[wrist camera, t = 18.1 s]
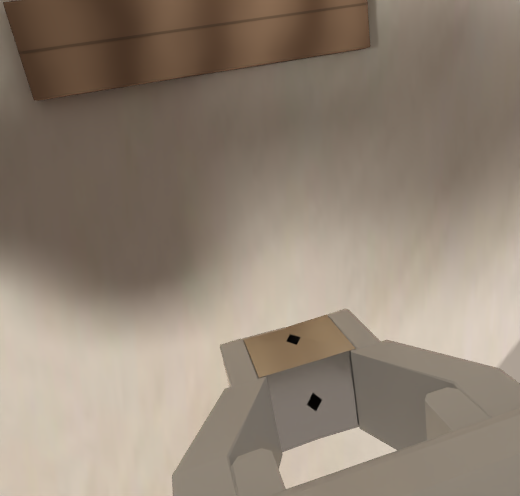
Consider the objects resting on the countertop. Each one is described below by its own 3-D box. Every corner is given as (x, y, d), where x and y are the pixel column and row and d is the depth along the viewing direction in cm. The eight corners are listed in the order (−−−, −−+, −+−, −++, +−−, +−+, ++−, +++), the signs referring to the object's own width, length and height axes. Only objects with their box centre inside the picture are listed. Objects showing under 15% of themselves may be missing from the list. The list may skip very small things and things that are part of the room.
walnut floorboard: (38, 100, 31) (33, 100, 30) (9, 6, 29) (2, 2, 28) (363, 48, 35) (370, 46, 34) (357, -38, 33) (364, -43, 32)
